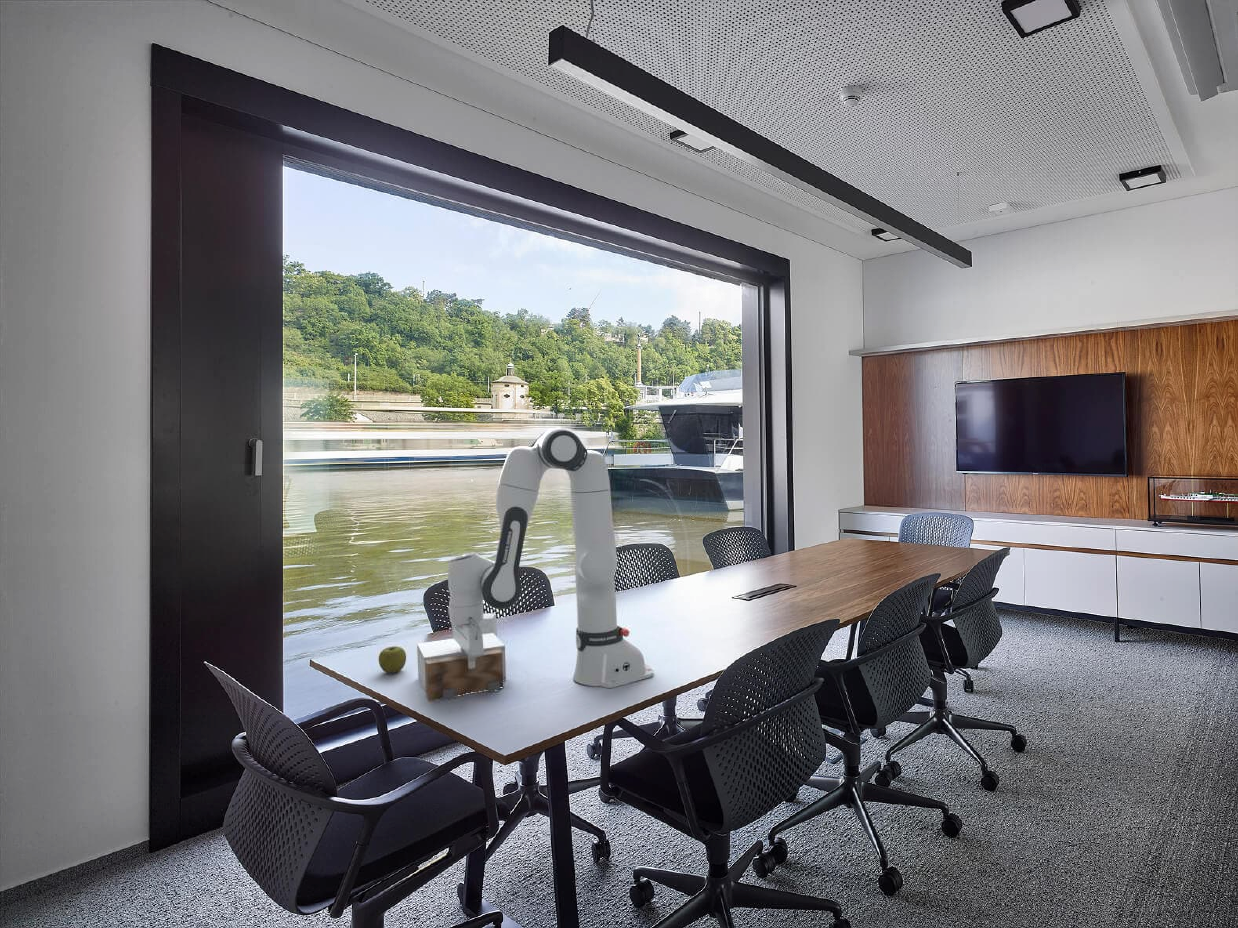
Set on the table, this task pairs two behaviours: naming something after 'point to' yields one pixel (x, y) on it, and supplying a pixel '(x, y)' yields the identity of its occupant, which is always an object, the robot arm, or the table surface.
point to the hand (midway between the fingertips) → (468, 664)
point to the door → (462, 674)
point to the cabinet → (453, 649)
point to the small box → (489, 624)
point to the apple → (392, 659)
